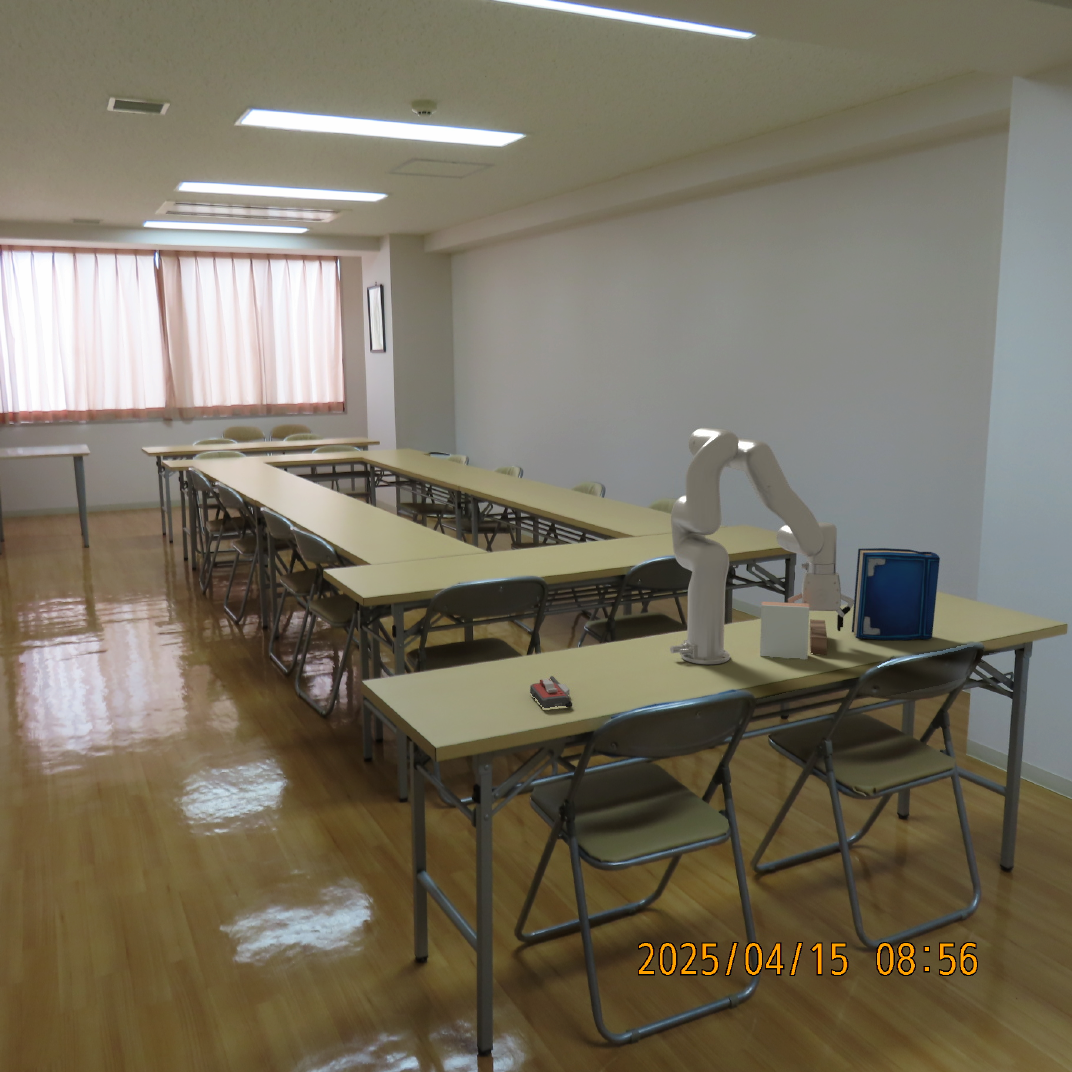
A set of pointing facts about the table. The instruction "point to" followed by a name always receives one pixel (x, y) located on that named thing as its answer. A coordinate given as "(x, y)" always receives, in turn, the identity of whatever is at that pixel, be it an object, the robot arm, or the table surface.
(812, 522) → the robot arm
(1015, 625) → the table surface
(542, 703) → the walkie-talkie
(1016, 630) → the table surface
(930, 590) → the book
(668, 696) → the table surface
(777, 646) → the tile
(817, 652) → the block
